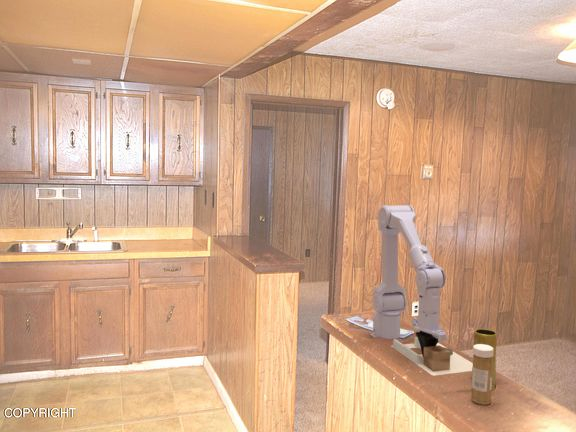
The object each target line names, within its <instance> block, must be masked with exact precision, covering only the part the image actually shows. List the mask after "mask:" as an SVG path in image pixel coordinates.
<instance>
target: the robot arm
mask: <svg viewBox="0 0 576 432" xmlns="http://www.w3.org/2000/svg"><path fill="white" fill-rule="evenodd" d="M378 210H379V211H378V212H377V213H378V214H377V220H378V221H377V226H378V231H380V232H381V282H380V283H379V284H378V285H377V286H376V287H373V295H372V296H373V297H372V299H371V300H372V301H371V302H372V307H373V309H374V311H375V312H374V314H373V319H372V332H371V333H370V336H371V337H372V338H375V339H376V338H381V339H387V340H393V339H396V340H398V339H399V338H400V337H401V317H402V316H401V314H404V311H405V310H406V308H407V306H408V305H407V304H408V300H407V295H406V289H405V288H404V286H402V285H401V284H399V241H398V240H399V234H400V233H401V235H402V237H403V239H404V241H405V243H406V244H407V247H408V248H409V251H408V257H409V260H410V261H411V265H412V267H413V269H414V271H415V277H414V281H415V285H416V292H417V294H418V308H417V309H418V312H417V318H412V319H411V326H412V327H414V330H415V331H416V332H415V337H417V338H418V340H419V343H420V346H421V349H420V351H421V354H422V356H423V358H424V347H430V346H436V345H437V343H439V342H447V337H448V336H447V335H448V334H447V333H446V332H444V330H443V329H442V328H441V326H440V314H441V313H440V312H441V309H440V308H441V289H442V288H444V286H445V284H446V274H445V272H444V269H443V268H442V267H440V266H439V264H437V263H435V261H434V258H433V256H432V255H431V254H432V253H431V252H430V251H429V248H428V247H427V246H426V245H423V244H422V241H421V239H420V236H419V233H418V231H417V227H416V224H415V222H416V212H415V209H414V207H413V206H412V205H410V204H407V205H406V204H404V205H403V204H402V205H401V204H400V205H399V204H398V205H386V204H383V205H382V206H381V207H380V209H378Z"/></svg>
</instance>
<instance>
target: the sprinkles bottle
mask: <svg viewBox="0 0 576 432" xmlns="http://www.w3.org/2000/svg"><path fill="white" fill-rule="evenodd" d="M493 354H494V349H493V347H491V346H489V345H485V344H476V345H474V344H473V347H472V356H474V358H472V363H473V374H472V373H471V377H472V379H471V400H472V402H473V403H476V404H478V405H482V406H483V405H484V406H485V405H490V404H491V403H492V390H491V389H492V358H493Z"/></svg>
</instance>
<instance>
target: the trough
mask: <svg viewBox="0 0 576 432" xmlns="http://www.w3.org/2000/svg"><path fill="white" fill-rule="evenodd" d="M392 340H393V341H392V343H393V344H392V346H393V347H392V348H393V349H394V348H395V349H394V350H395V351H397V352H398V353H400V354H401V353H402V354H401V355H403V356H404V357H405V358H407V359H408V358H409V359H408V360H409V361H411V362H413V363H414V364H415V363H416V365H417V364H419V355H420V354H418V353H417V352H415V351H414V350H413V349H412V348H408V347H407V346H405V345H404V344H403V343H402V342H400V341H399V340H398V339H392ZM413 343H414V345H415V346H416V347H418V348H417V349H419V350H421V346H420V343H419V340H418V338H417V336H415V337H414V342H413Z"/></svg>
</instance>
